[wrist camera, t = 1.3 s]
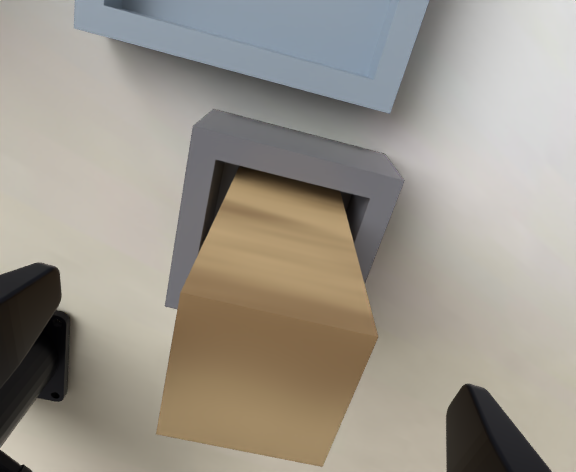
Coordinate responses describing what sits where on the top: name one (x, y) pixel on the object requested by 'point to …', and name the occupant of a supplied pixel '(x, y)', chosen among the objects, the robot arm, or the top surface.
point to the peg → (270, 324)
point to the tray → (276, 39)
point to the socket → (284, 162)
